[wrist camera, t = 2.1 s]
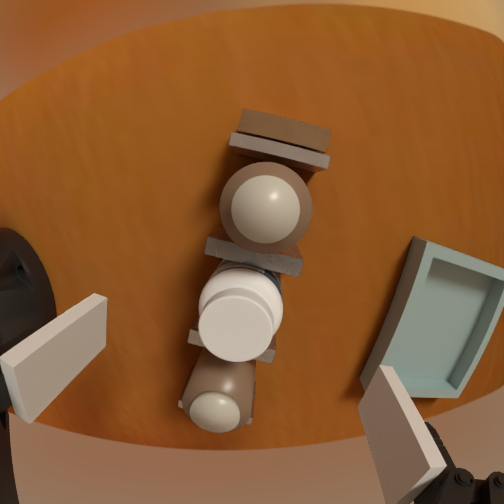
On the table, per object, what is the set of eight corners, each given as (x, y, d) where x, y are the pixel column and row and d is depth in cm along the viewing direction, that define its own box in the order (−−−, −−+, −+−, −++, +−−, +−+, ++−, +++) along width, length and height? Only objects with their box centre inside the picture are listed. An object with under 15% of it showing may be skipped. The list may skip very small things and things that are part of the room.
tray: (359, 378, 25) (365, 393, 23) (413, 236, 22) (427, 241, 20) (448, 385, 25) (458, 397, 23) (500, 267, 22) (514, 273, 20)
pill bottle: (277, 313, 24) (280, 376, 16) (214, 309, 25) (188, 368, 16) (282, 250, 23) (290, 288, 15) (215, 246, 24) (185, 281, 15)
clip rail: (188, 389, 27) (175, 422, 22) (246, 118, 21) (240, 100, 16) (248, 404, 27) (244, 439, 22) (323, 137, 21) (337, 124, 16)
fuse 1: (201, 363, 26) (176, 428, 17) (209, 320, 25) (182, 381, 16) (250, 375, 26) (242, 444, 17) (262, 333, 25) (258, 399, 16)
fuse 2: (230, 223, 23) (207, 245, 14) (244, 164, 22) (228, 150, 13) (289, 237, 23) (300, 267, 14) (303, 179, 22) (324, 174, 13)
